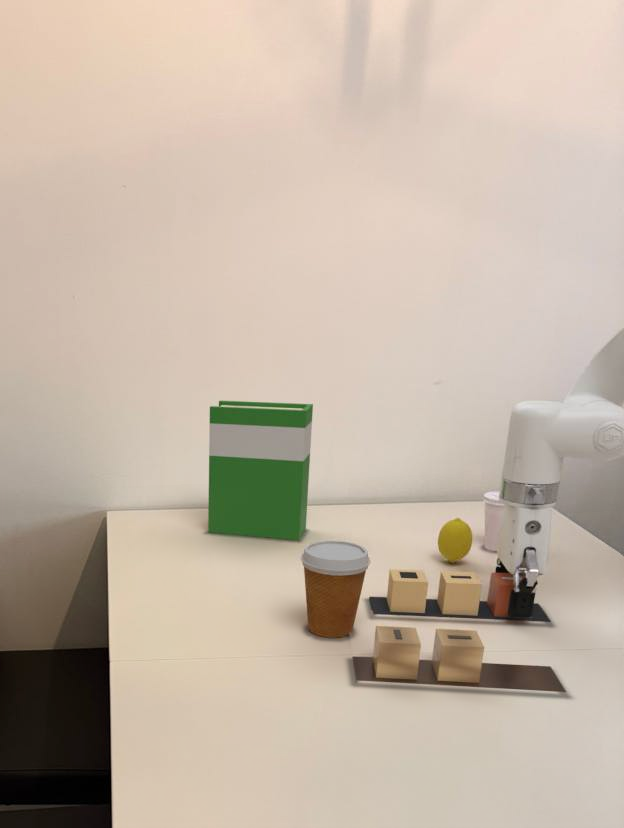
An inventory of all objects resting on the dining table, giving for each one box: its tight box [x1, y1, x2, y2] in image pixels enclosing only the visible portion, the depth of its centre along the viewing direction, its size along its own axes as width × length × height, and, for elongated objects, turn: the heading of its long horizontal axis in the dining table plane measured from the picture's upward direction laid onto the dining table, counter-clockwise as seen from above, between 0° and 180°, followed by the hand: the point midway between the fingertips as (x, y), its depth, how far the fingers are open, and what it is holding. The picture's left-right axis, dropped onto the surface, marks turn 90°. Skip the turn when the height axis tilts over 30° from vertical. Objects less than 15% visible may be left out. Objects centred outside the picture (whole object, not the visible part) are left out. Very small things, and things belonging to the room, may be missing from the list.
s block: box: [486, 572, 526, 617], centre depth 128 cm, size 5×5×5 cm
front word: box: [352, 625, 567, 693], centre depth 110 cm, size 25×7×6 cm, turn 81°
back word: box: [368, 568, 552, 623], centre depth 129 cm, size 25×7×6 cm, turn 81°
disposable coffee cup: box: [300, 540, 371, 639], centre depth 122 cm, size 10×10×12 cm
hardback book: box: [207, 400, 314, 541], centre depth 164 cm, size 18×7×24 cm, turn 71°
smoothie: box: [482, 490, 504, 552], centre depth 154 cm, size 6×6×14 cm
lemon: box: [437, 517, 473, 564], centre depth 148 cm, size 6×6×8 cm
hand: (511, 603), depth 128 cm, fingers open, 9 cm apart
